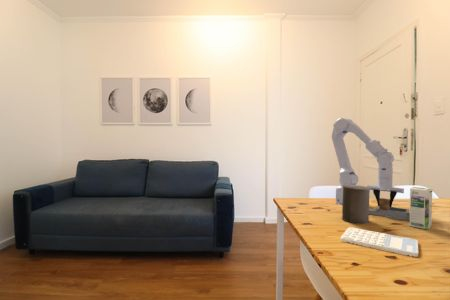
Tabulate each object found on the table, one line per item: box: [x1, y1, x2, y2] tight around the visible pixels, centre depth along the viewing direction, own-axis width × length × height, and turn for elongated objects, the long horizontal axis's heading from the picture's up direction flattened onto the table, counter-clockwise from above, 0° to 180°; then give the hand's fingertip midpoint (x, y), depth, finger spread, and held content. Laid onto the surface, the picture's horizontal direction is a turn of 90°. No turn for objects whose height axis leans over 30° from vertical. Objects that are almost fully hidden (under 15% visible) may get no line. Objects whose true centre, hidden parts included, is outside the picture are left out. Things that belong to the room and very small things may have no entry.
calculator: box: [340, 226, 419, 258], centre depth 81 cm, size 13×20×2 cm, turn 53°
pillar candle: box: [341, 183, 371, 225], centre depth 103 cm, size 10×10×15 cm
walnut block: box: [379, 197, 390, 210], centre depth 120 cm, size 4×4×4 cm
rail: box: [369, 206, 410, 222], centre depth 110 cm, size 18×8×4 cm, turn 54°
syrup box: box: [409, 186, 433, 231], centre depth 96 cm, size 6×6×14 cm
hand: (384, 206), depth 120 cm, fingers closed on walnut block, 4 cm apart
